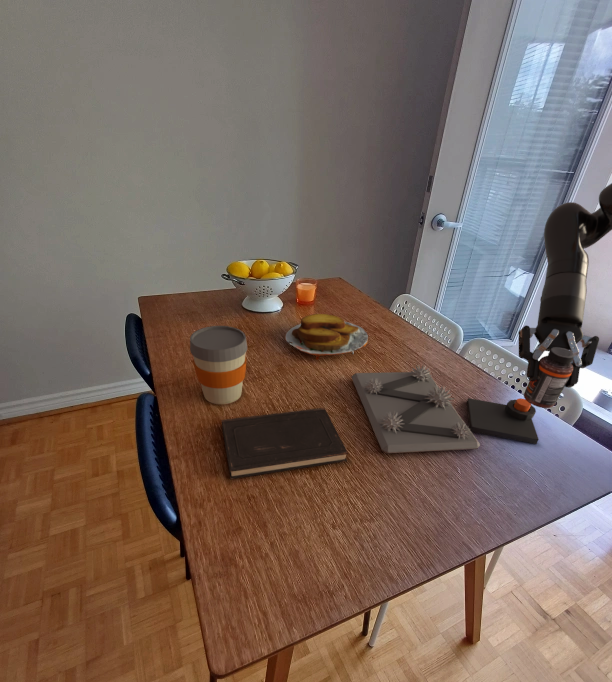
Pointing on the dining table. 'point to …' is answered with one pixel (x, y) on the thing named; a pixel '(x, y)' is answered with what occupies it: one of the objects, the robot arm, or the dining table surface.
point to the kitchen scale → (501, 420)
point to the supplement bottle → (550, 378)
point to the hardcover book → (281, 442)
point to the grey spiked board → (412, 412)
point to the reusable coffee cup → (219, 362)
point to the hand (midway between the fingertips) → (551, 383)
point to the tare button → (522, 405)
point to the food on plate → (326, 335)
